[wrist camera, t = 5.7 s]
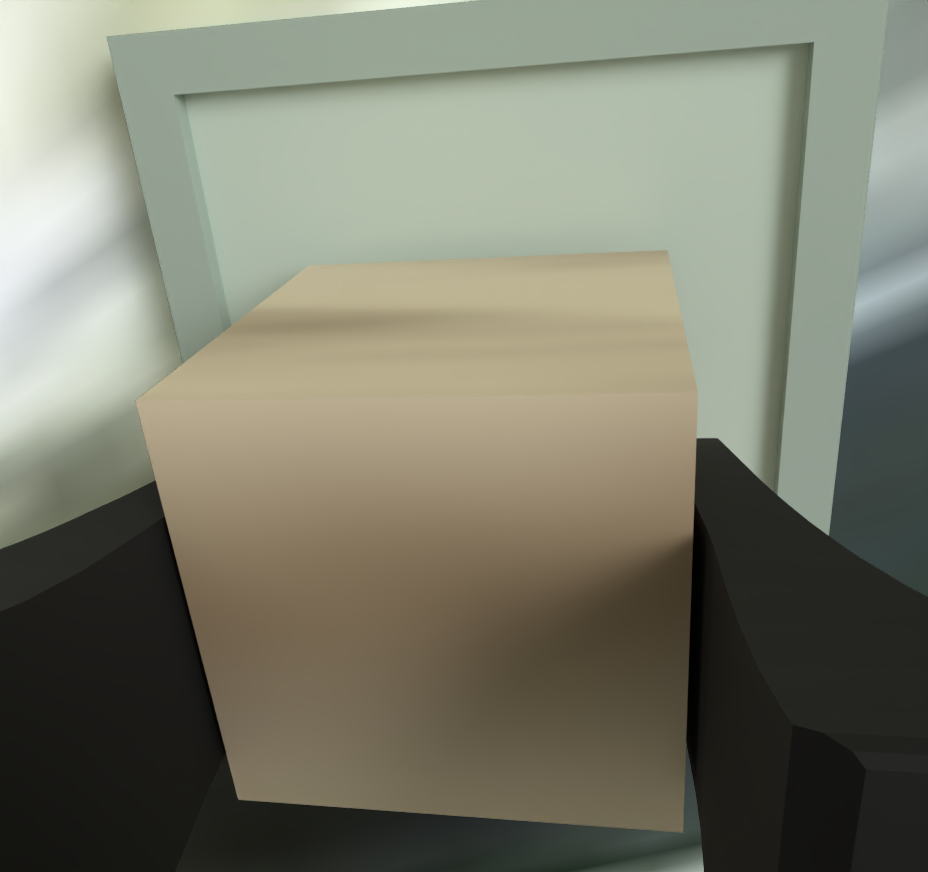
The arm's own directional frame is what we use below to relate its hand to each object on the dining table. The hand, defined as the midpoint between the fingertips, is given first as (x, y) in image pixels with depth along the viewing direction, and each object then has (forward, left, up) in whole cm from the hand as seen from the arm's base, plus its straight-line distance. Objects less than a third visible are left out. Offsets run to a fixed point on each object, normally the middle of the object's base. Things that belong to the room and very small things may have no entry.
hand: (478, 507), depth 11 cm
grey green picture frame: (0, 0, -3) cm, 3 cm away
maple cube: (0, 0, -2) cm, 2 cm away
